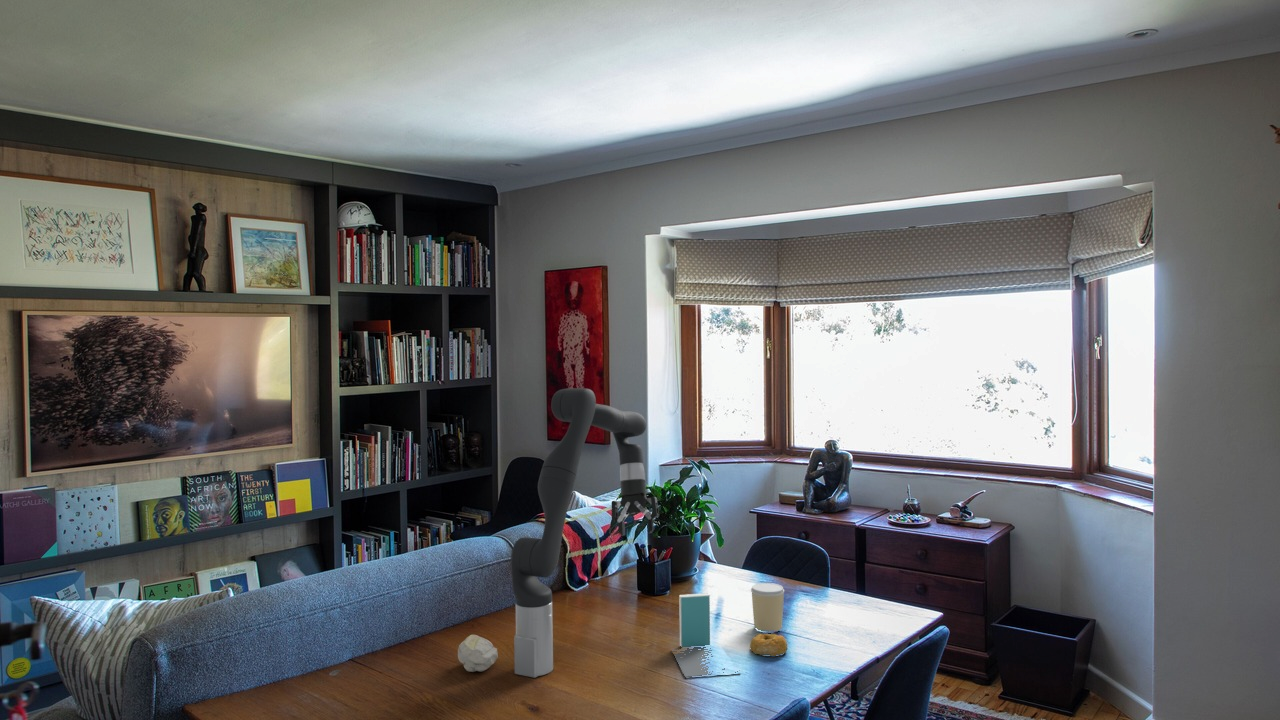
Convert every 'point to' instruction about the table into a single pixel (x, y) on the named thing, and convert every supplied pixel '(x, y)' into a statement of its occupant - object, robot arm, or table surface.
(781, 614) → the coffee cup
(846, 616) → the table surface
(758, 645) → the bagel
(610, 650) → the table surface
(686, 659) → the mat
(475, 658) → the white rock
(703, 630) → the tile
